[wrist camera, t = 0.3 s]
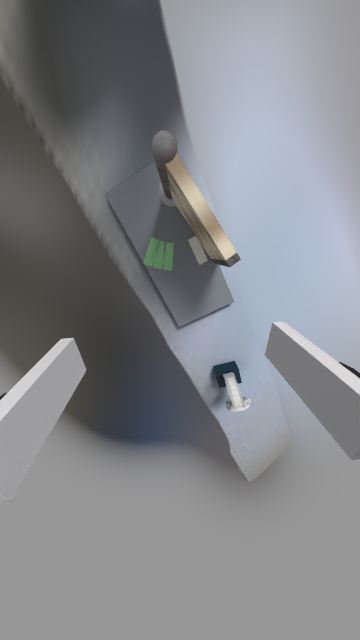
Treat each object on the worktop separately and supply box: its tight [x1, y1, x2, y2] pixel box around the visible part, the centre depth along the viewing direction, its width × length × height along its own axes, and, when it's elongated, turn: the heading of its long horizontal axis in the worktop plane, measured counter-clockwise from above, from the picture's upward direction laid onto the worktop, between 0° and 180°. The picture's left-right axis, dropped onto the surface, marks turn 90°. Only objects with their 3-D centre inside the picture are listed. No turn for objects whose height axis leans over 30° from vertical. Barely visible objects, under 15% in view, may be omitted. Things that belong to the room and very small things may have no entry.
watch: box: [213, 361, 251, 412], centre depth 38 cm, size 6×8×11 cm
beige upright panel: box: [151, 130, 241, 267], centre depth 24 cm, size 15×3×12 cm, turn 37°
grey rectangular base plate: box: [105, 160, 234, 327], centre depth 33 cm, size 28×13×2 cm, turn 27°
